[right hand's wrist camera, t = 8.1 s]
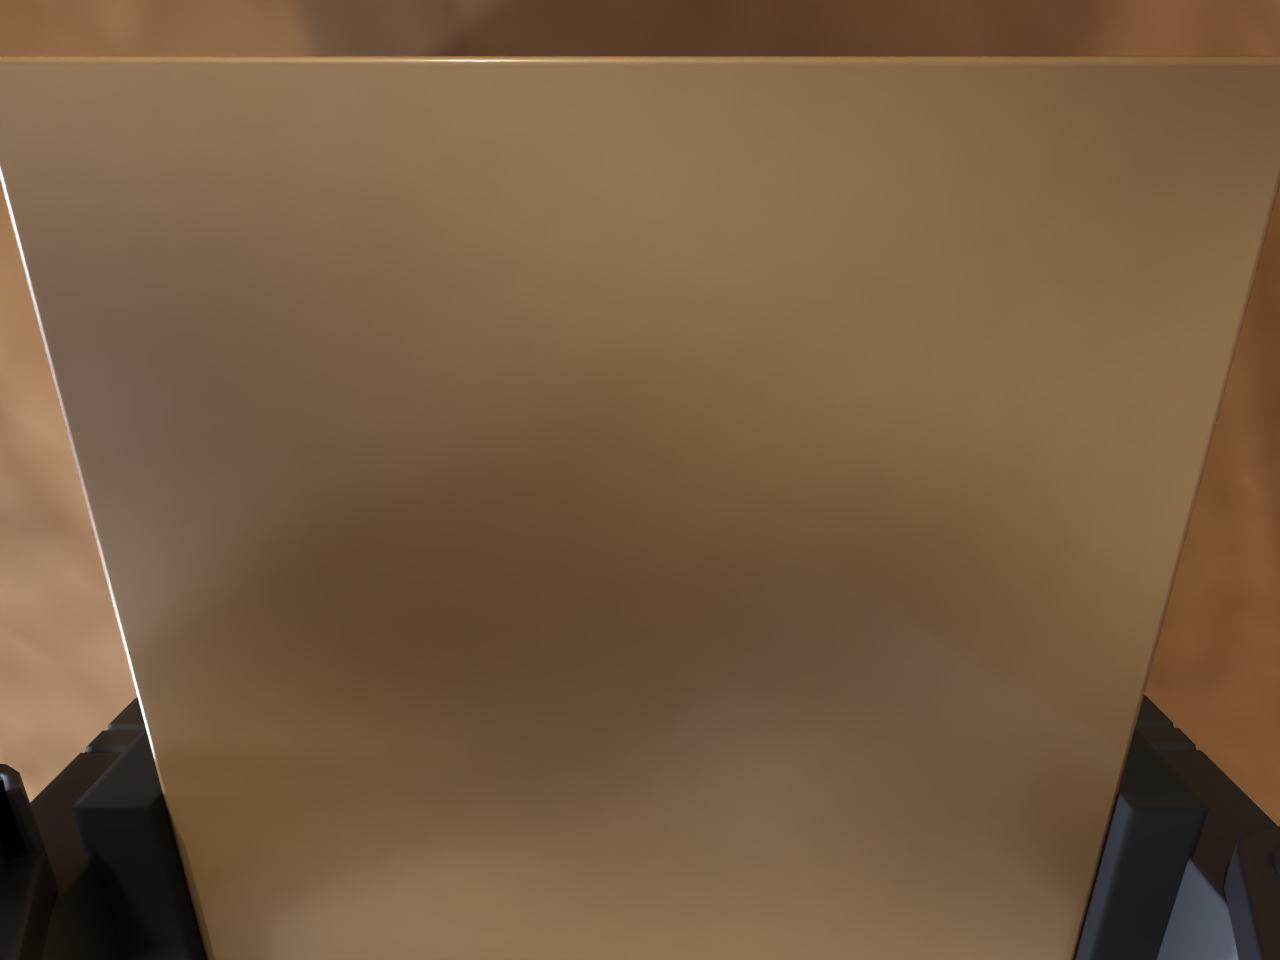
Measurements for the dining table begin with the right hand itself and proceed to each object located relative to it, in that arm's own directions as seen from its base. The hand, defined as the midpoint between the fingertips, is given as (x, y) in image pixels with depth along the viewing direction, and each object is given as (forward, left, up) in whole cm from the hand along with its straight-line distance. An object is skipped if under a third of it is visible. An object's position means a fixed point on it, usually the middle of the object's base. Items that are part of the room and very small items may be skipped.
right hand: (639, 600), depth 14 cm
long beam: (-3, -33, 0) cm, 33 cm away
